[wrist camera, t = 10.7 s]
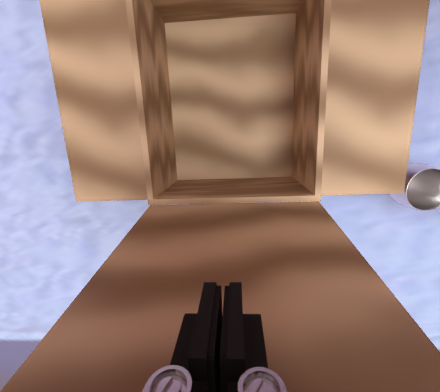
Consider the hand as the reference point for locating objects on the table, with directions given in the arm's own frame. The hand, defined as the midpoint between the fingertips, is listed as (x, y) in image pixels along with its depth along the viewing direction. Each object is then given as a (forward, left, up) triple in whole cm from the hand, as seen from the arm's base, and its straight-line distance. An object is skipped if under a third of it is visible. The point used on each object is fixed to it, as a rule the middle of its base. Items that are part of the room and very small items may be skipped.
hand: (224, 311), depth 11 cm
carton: (-12, 0, -28) cm, 30 cm away
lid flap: (+1, 0, -5) cm, 5 cm away
